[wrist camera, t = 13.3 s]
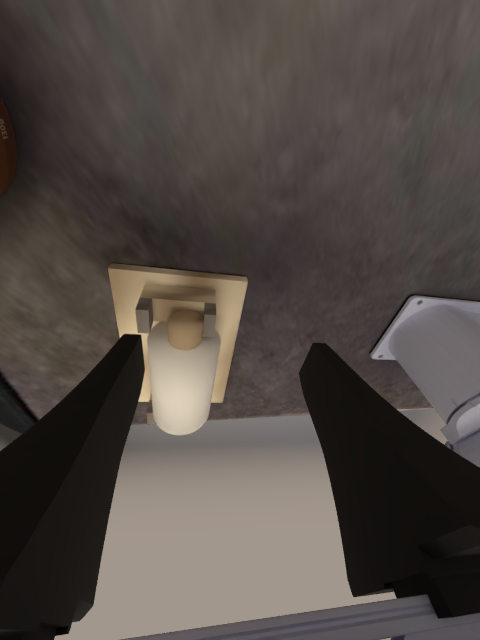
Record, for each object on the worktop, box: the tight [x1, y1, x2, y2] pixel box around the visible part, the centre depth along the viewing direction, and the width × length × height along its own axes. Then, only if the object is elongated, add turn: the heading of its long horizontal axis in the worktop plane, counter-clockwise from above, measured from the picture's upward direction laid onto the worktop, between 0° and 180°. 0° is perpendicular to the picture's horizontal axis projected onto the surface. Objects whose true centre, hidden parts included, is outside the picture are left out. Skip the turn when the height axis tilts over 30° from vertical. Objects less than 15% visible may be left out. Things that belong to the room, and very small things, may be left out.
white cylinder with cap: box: [147, 310, 221, 435], centre depth 21 cm, size 5×12×5 cm, turn 171°
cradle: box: [108, 263, 248, 425], centre depth 22 cm, size 10×16×4 cm, turn 171°
